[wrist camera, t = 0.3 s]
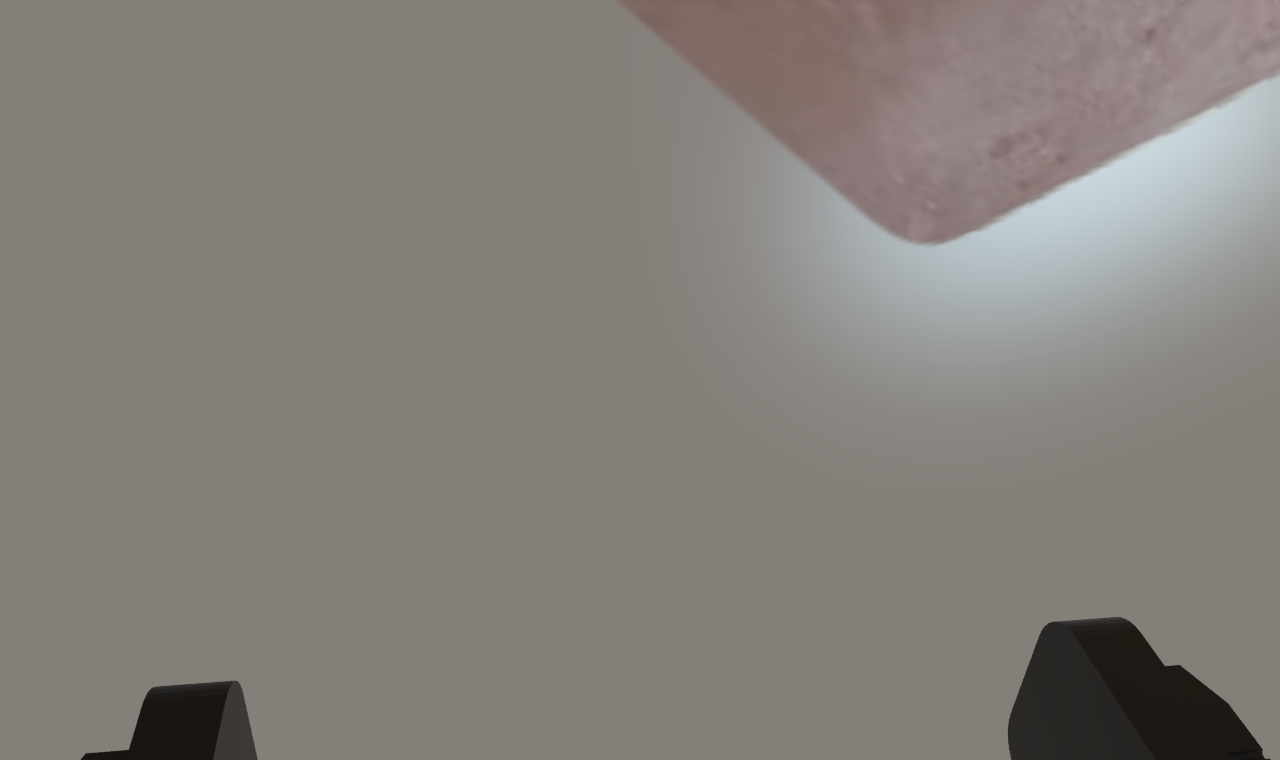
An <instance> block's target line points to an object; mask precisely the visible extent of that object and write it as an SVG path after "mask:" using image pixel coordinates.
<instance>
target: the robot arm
mask: <svg viewBox="0 0 1280 760" xmlns="http://www.w3.org/2000/svg"><path fill="white" fill-rule="evenodd" d="M1008 743H1009V750H1010V755H1011V759H1012V760H1270V759H1265V758H1264V757H1263V754H1262V750H1263V749H1262V748H1261V747H1260V745H1259V744H1258V743H1257V741H1256V740H1255V739H1254V737H1253V736H1252V735H1251V733H1250V732H1249V731H1248V729H1247V728H1246V727H1245V725H1244V724H1243V723H1242V721H1241V720H1240V719H1239V717H1238V716H1237V715H1236V713H1235V712H1234V711H1233V709H1232V708H1231V707H1230V705H1229V704H1228V703H1227V702H1226V701H1224V700H1223V699H1222V698H1220V697H1219V696H1218V695H1217V694H1215V693H1214V692H1213V691H1212V690H1210V689H1209V688H1208V687H1207V686H1205V685H1204V684H1203V683H1202V682H1200V681H1199V680H1198V679H1196V678H1195V677H1194V676H1193V675H1191V674H1190V673H1189V672H1188V671H1187V670H1185V669H1184V668H1183V667H1181V666H1180V665H1175V666H1164V665H1163V663H1162V662H1161V660H1160V659H1159V658H1158V656H1157V655H1156V653H1155V652H1154V651H1153V649H1152V648H1151V646H1150V645H1149V644H1148V642H1147V641H1146V639H1145V638H1144V637H1143V635H1142V634H1141V633H1140V631H1139V630H1138V629H1137V628H1136V627H1135V626H1134V625H1133V624H1132V623H1131V622H1130V621H1128V620H1126V619H1124V618H1121V617H1111V618H1099V619H1085V620H1072V621H1060V622H1059V621H1058V622H1051V623H1048V624H1047V625H1046V626H1045V627H1044V628H1043V630H1042V631H1041V634H1040V636H1039V638H1038V641H1037V644H1036V646H1035V649H1034V652H1033V654H1032V657H1031V660H1030V663H1029V665H1028V668H1027V671H1026V674H1025V676H1024V679H1023V682H1022V685H1021V687H1020V690H1019V693H1018V695H1017V698H1016V701H1015V704H1014V706H1013V709H1012V712H1011V715H1010V719H1009V725H1008ZM81 760H257V755H256V750H255V746H254V742H253V737H252V732H251V727H250V723H249V719H248V714H247V710H246V705H245V700H244V695H243V692H242V688H241V686H240V684H239V682H238V681H225V682H212V683H199V684H186V685H172V686H159V687H153V688H151V689H150V690H149V692H148V693H147V695H146V697H145V699H144V702H143V705H142V707H141V711H140V714H139V718H138V721H137V724H136V728H135V731H134V735H133V738H132V741H131V745H130V748H129V750H123V751H110V752H99V753H86V754H85V755H84V757H83V758H82V759H81Z"/></svg>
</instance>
